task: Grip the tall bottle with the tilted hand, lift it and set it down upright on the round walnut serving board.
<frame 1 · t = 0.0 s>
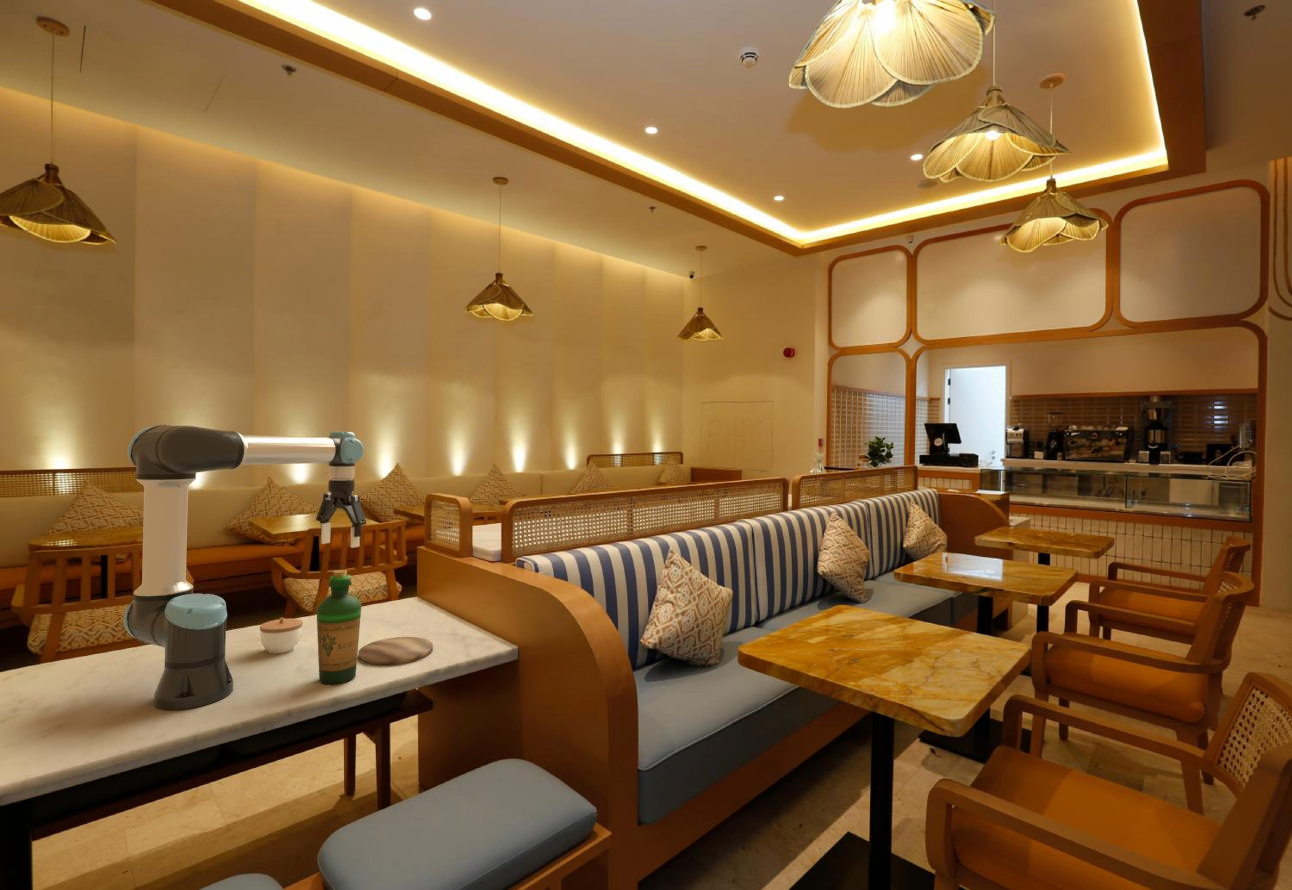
hand: (340, 545, 194), 28 cm above the table, tool pointing down, fingers open, 13 cm apart
serving board: (396, 652, 176), on the table
lidded jar: (281, 650, 176), on the table
bottle: (337, 679, 156), on the table
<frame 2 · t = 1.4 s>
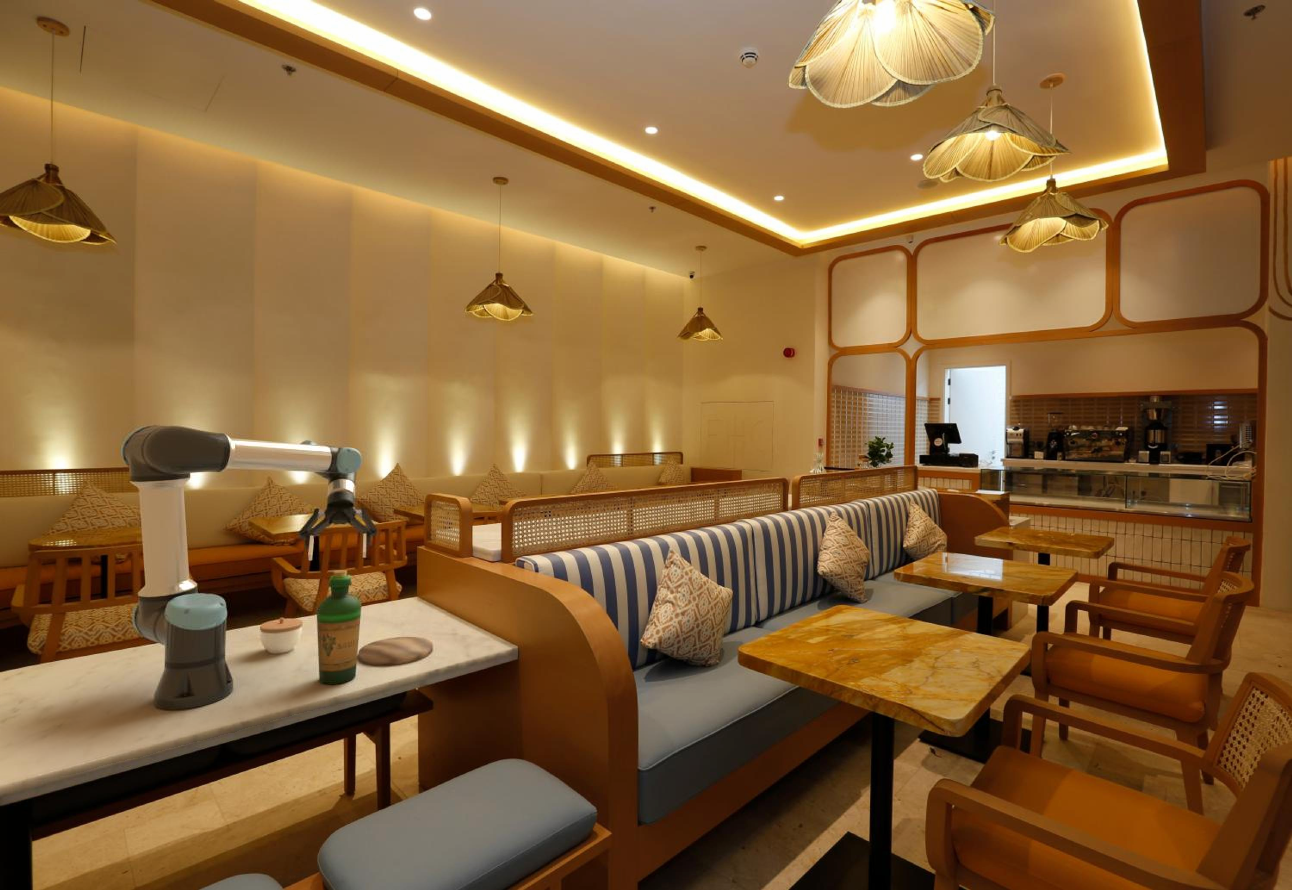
hand: (337, 556, 169), 29 cm above the table, tool tilted 45°, fingers open, 13 cm apart
nothing on the table moved.
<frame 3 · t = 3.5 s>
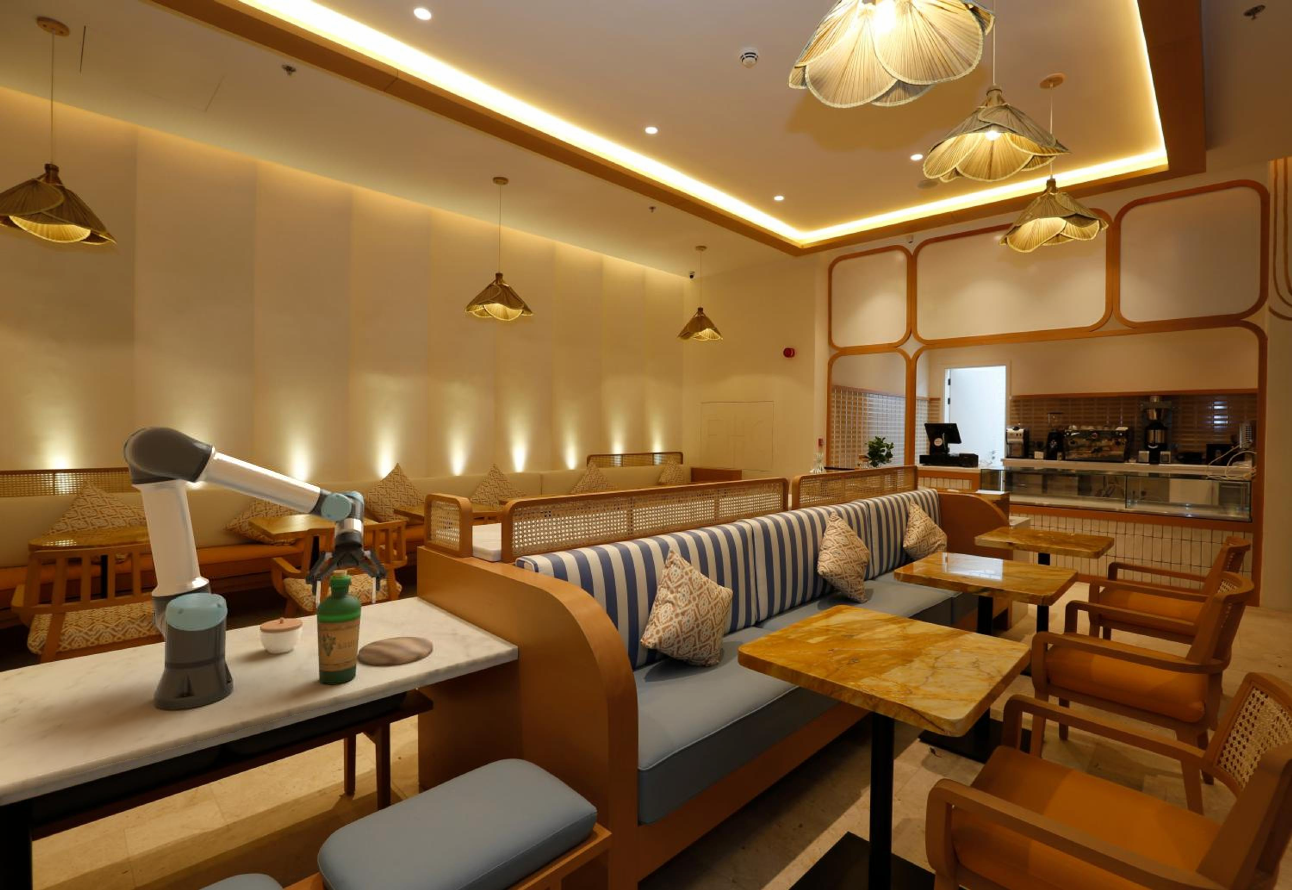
hand: (346, 603, 161), 18 cm above the table, tool tilted 45°, fingers open, 13 cm apart
nothing on the table moved.
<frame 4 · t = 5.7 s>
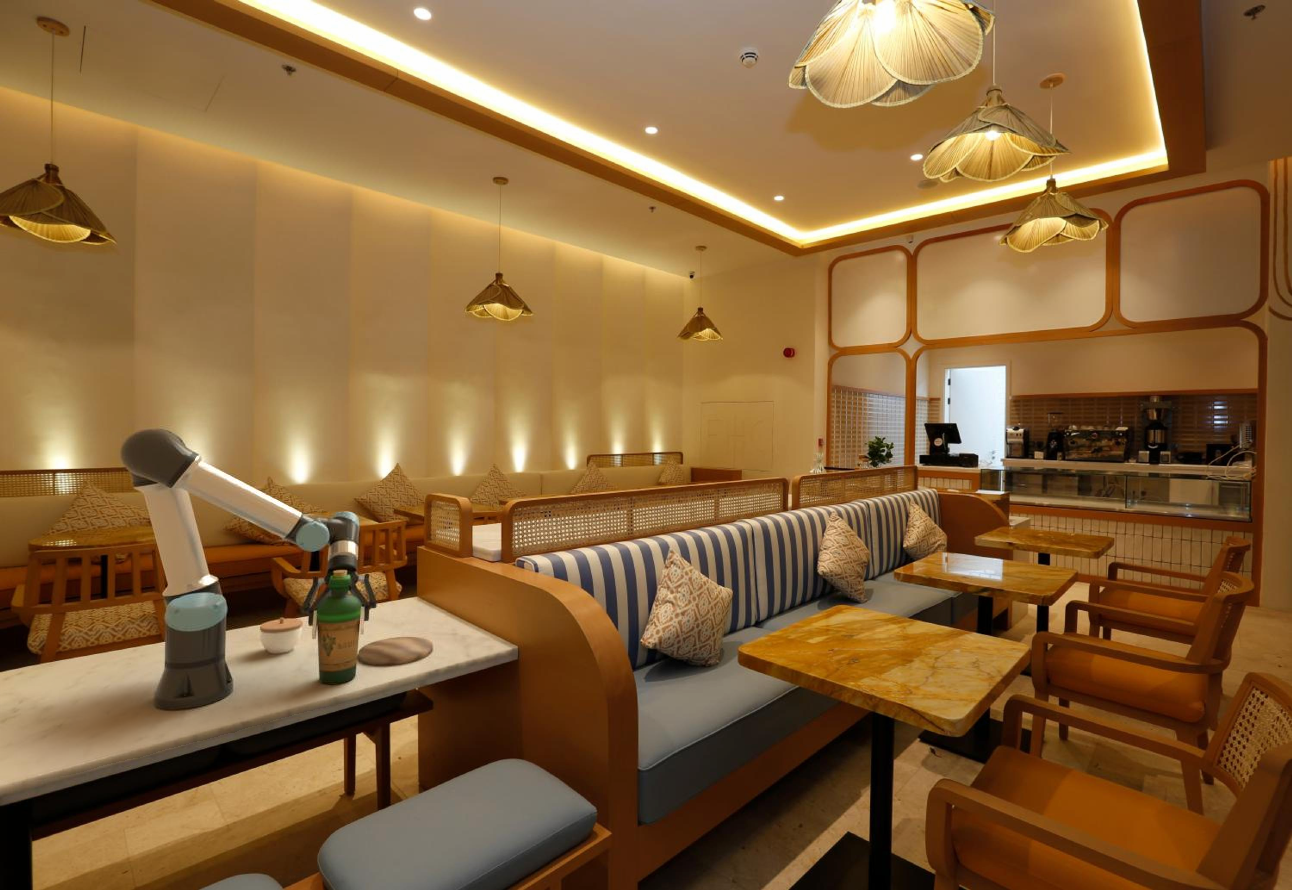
hand: (338, 634, 153), 13 cm above the table, tool tilted 45°, fingers closed on bottle, 10 cm apart
bottle: (337, 679, 156), on the table, touching gripper
everything else where it was.
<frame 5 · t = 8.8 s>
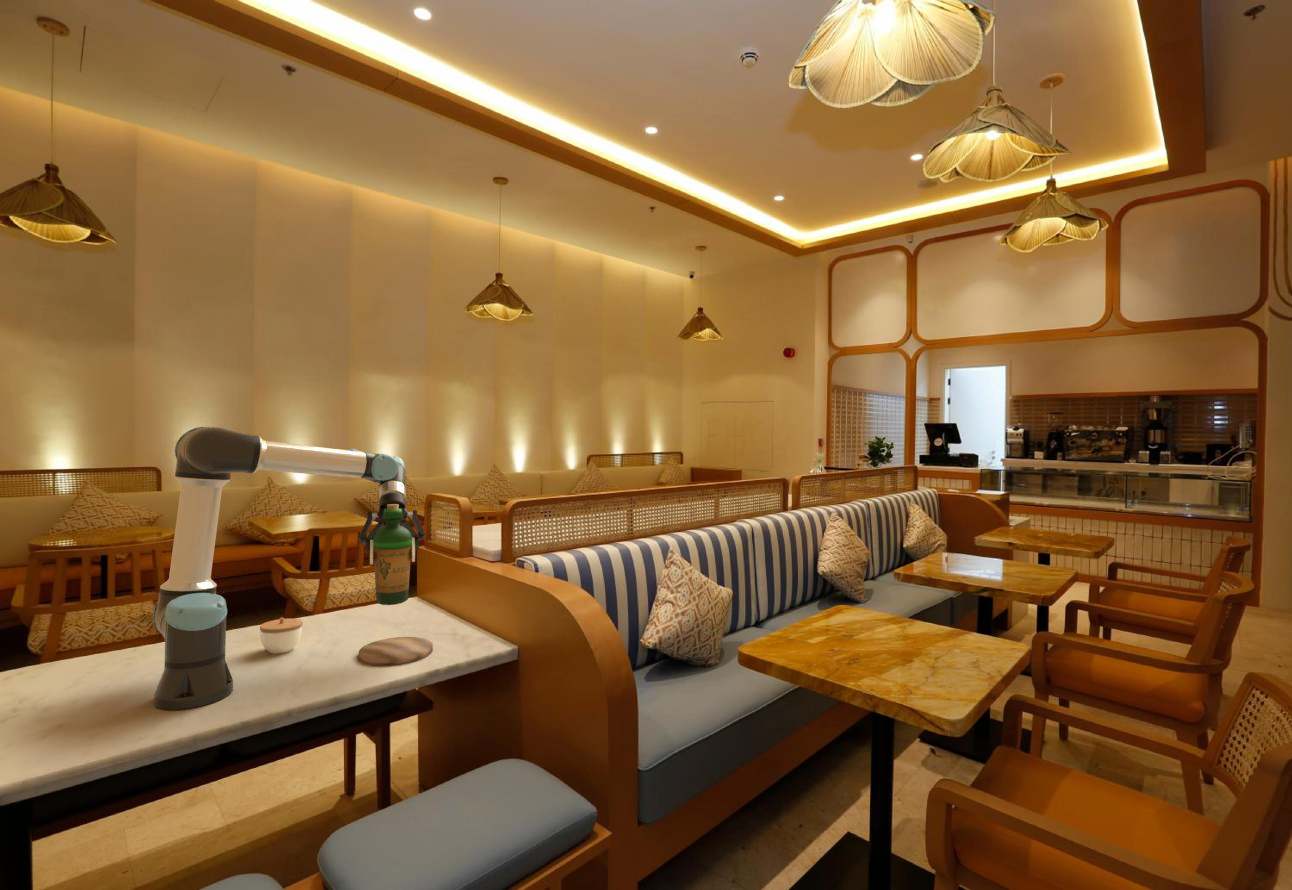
hand: (392, 560, 170), 28 cm above the table, tool tilted 45°, fingers closed on bottle, 10 cm apart
bottle: (392, 602, 173), point 16 cm above the table, touching gripper
everything else where it was.
when the fingers open (15 cm above the table, at t = 11.8 s): bottle drops 1 cm, resting on serving board.
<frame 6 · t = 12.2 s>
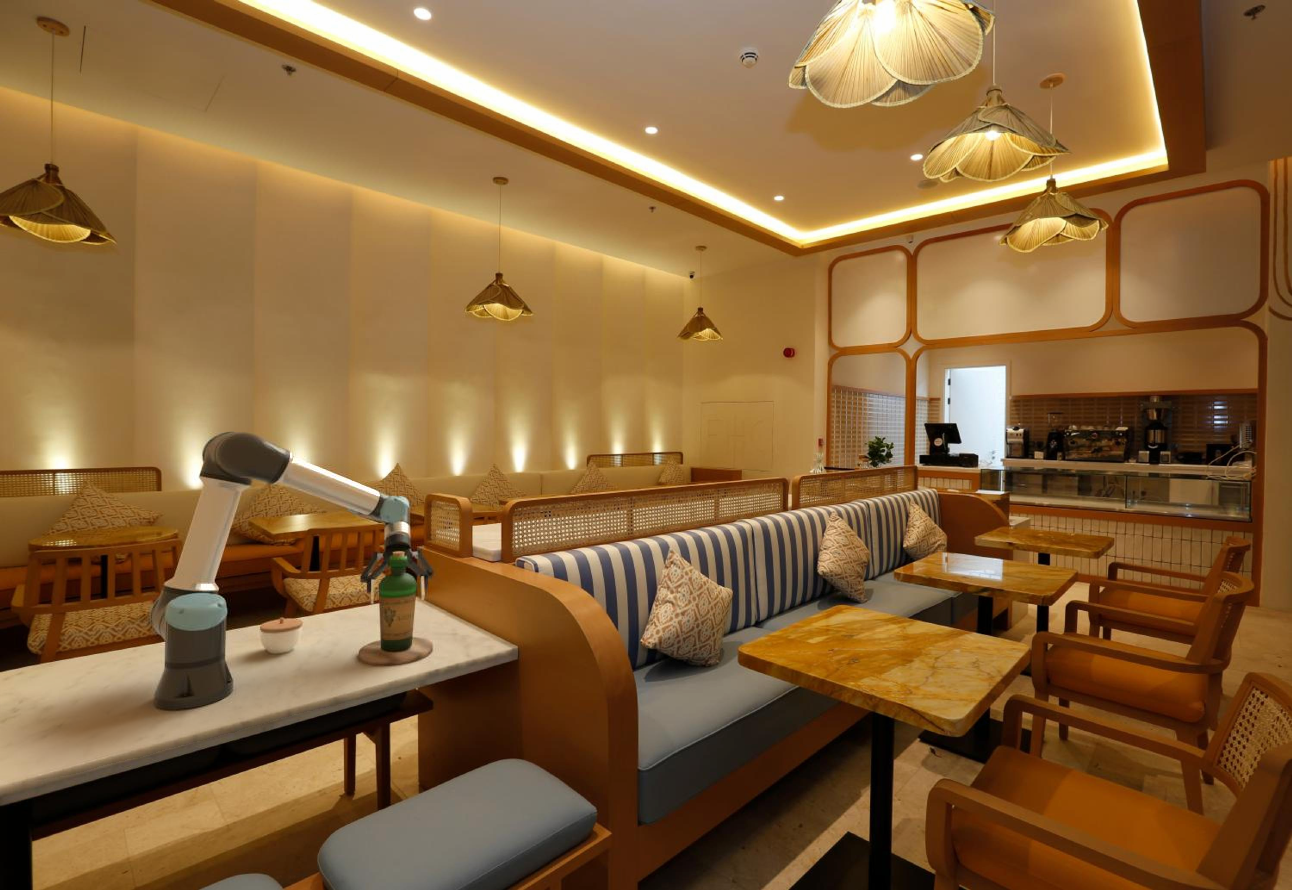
hand: (398, 599, 174), 16 cm above the table, tool tilted 45°, fingers open, 13 cm apart
bottle: (396, 648, 176), point 1 cm above the table, touching serving board
everything else where it was.
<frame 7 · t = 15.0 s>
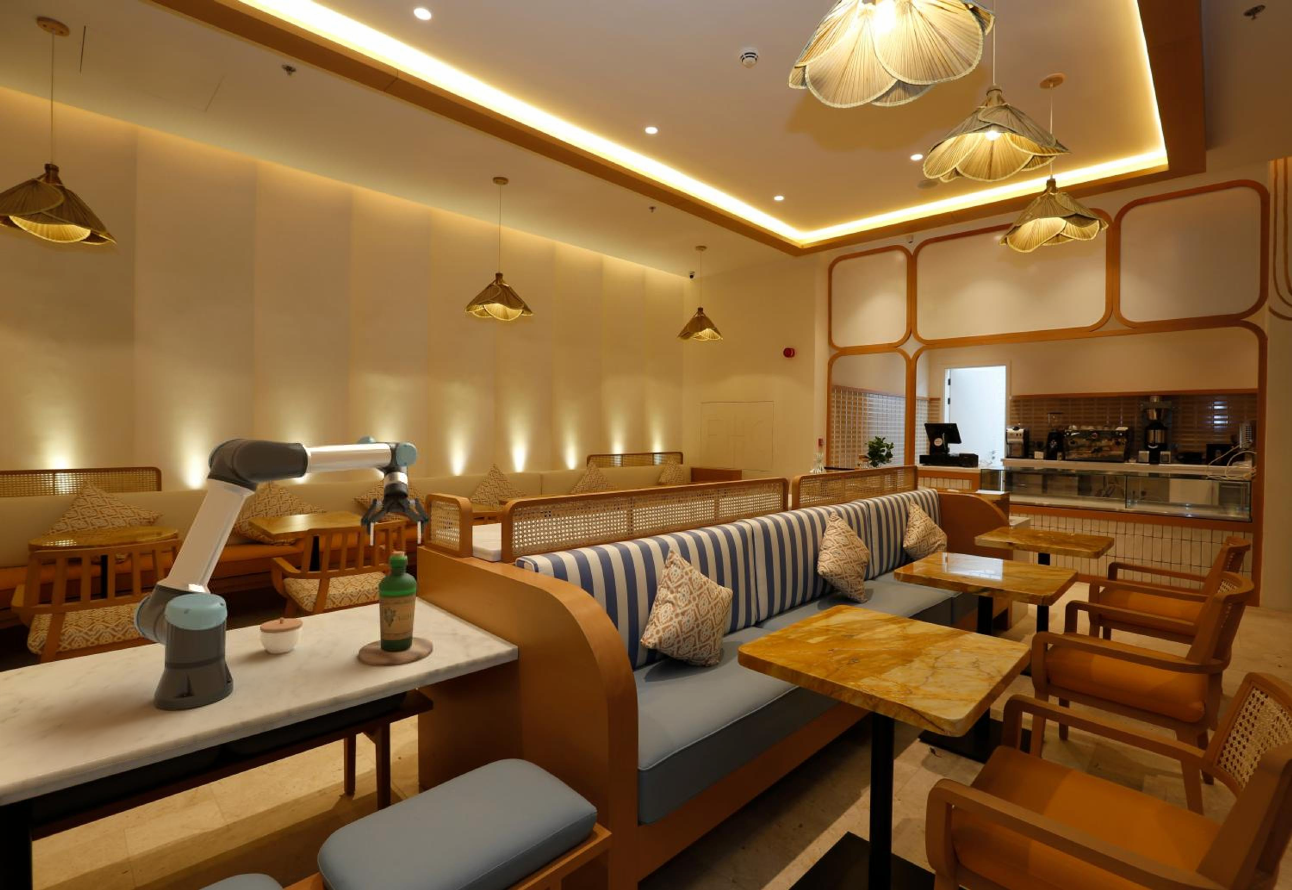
hand: (395, 541, 185), 31 cm above the table, tool tilted 45°, fingers open, 13 cm apart
nothing on the table moved.
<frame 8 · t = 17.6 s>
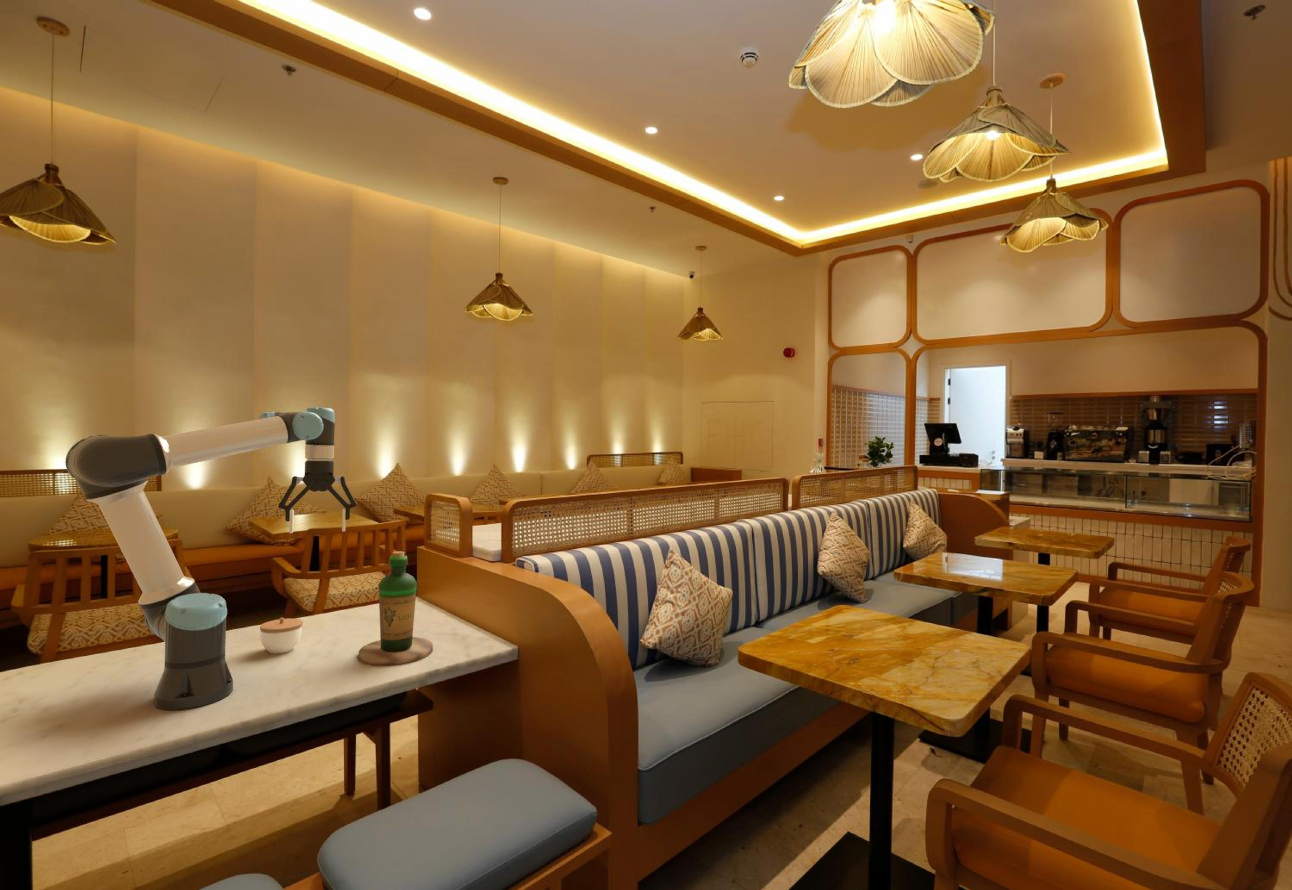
hand: (317, 531, 177), 35 cm above the table, tool pointing down, fingers open, 13 cm apart
nothing on the table moved.
at the end: bottle inside the target area on the serving board (0.1 cm from its centre), point 1.3 cm above the serving board's base; bottle tilted 0°; the gripper is holding nothing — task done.
